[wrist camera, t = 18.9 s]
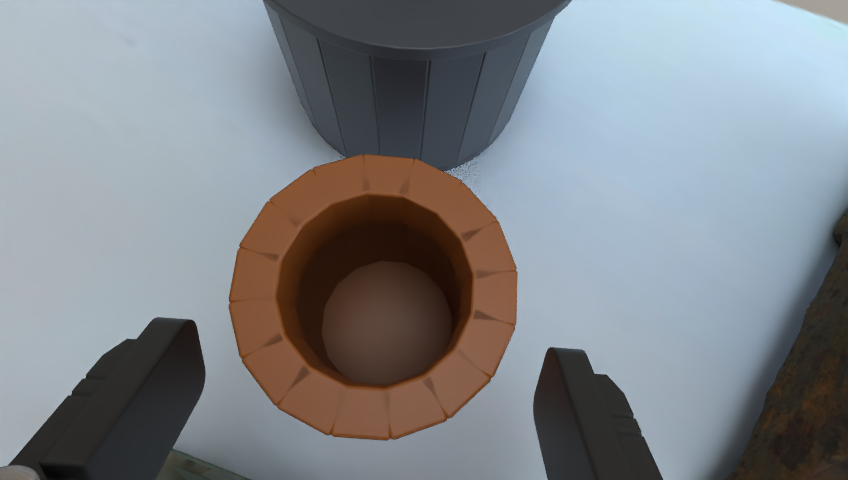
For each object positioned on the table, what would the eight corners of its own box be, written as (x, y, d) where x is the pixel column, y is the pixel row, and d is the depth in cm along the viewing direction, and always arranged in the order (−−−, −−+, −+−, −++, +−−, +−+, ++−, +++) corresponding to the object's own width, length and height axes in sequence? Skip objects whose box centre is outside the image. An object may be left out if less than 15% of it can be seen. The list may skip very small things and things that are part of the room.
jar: (304, 396, 19) (203, 427, 9) (324, 249, 20) (255, 142, 11) (456, 408, 19) (514, 450, 9) (464, 260, 21) (520, 166, 11)
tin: (283, 165, 21) (202, 26, 13) (314, -26, 24) (266, -246, 15) (515, 185, 22) (592, 63, 13) (519, -6, 24) (585, -211, 16)
